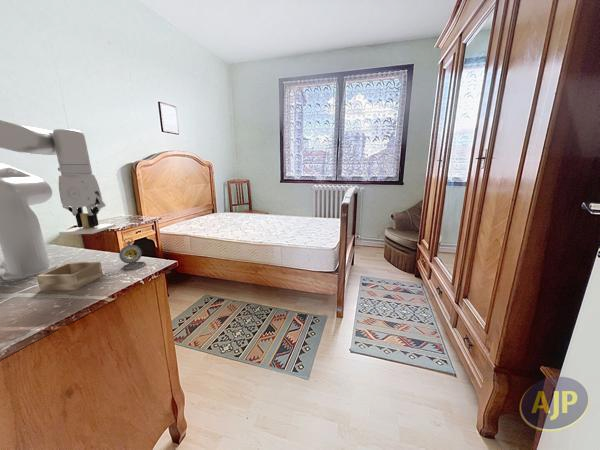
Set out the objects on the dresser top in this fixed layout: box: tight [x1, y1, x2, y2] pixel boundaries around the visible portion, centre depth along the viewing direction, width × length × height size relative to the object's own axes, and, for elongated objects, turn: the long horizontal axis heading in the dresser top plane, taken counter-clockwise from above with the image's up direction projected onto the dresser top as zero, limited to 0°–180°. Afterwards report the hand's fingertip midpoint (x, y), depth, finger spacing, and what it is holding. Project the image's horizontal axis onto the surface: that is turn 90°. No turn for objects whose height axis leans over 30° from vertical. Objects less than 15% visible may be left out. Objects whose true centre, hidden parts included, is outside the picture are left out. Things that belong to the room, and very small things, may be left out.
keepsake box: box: [36, 261, 104, 292], centre depth 74 cm, size 10×10×5 cm
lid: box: [58, 212, 117, 235], centre depth 82 cm, size 10×10×6 cm
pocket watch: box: [118, 237, 146, 271], centre depth 86 cm, size 8×8×10 cm
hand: (88, 226), depth 83 cm, fingers closed on lid, 3 cm apart
